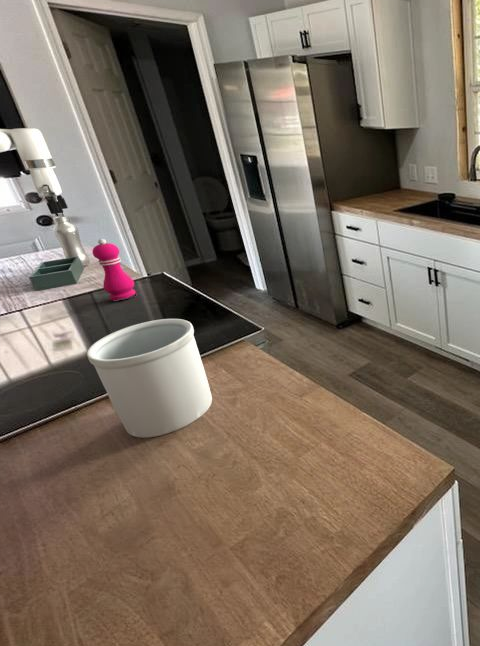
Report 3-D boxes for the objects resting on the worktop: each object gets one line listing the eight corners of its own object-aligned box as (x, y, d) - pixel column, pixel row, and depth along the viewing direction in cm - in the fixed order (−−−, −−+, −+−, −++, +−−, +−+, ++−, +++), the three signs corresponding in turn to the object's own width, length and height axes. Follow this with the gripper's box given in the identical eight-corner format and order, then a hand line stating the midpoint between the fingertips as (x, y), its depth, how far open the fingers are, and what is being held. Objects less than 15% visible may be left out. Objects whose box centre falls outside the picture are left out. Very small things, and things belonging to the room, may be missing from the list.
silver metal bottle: (64, 268, 159) (42, 218, 152) (84, 263, 165) (64, 214, 158) (76, 270, 158) (54, 219, 151) (96, 264, 164) (76, 215, 157)
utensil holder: (226, 411, 82) (201, 335, 76) (129, 454, 72) (90, 370, 66) (205, 381, 92) (181, 311, 85) (117, 416, 81) (82, 339, 75)
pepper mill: (108, 298, 134) (84, 239, 126) (137, 291, 138) (116, 234, 131) (109, 304, 129) (84, 244, 122) (139, 297, 134) (117, 238, 126)
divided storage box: (35, 291, 140) (28, 277, 138) (46, 274, 154) (41, 262, 152) (76, 283, 145) (71, 270, 144) (84, 268, 160) (79, 256, 158)
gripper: (29, 163, 152) (50, 208, 158) (18, 167, 139) (40, 217, 146) (58, 161, 156) (77, 205, 163) (49, 165, 144) (70, 213, 150)
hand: (59, 211), depth 154 cm, fingers open, 9 cm apart
